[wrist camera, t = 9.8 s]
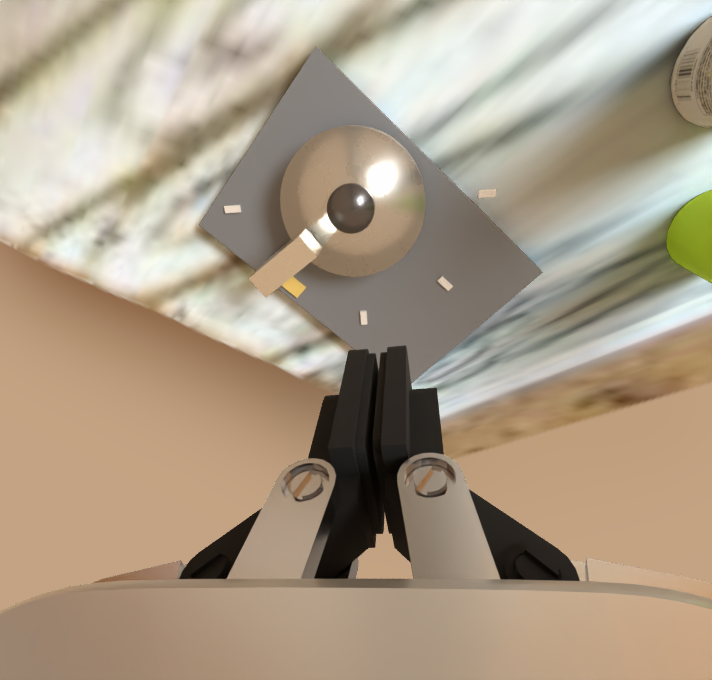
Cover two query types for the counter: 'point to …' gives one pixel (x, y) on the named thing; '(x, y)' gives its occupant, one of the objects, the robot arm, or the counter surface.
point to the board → (403, 279)
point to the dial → (346, 206)
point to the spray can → (694, 78)
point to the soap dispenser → (693, 236)
